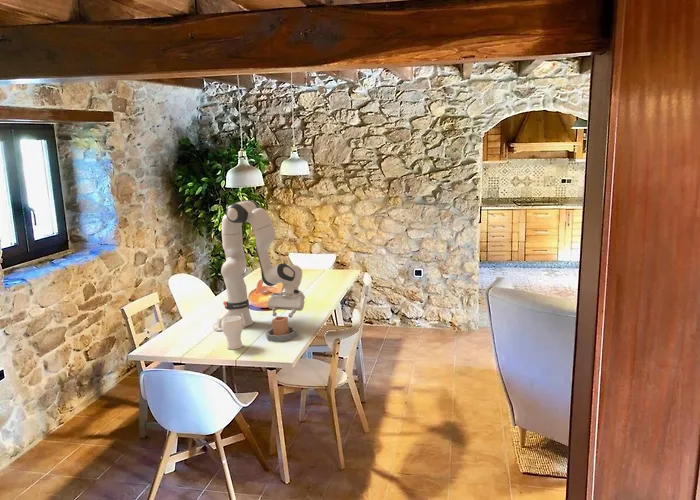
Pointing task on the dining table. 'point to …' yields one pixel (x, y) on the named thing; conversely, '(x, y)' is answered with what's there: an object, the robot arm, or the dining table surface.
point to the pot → (280, 326)
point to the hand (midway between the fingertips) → (282, 316)
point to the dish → (281, 338)
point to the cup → (232, 331)
